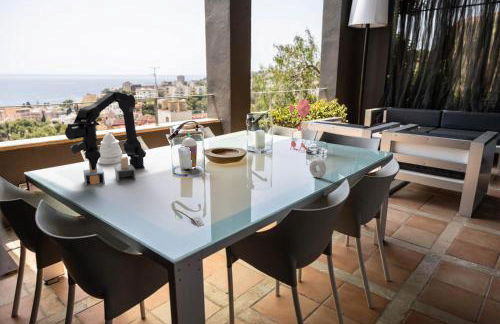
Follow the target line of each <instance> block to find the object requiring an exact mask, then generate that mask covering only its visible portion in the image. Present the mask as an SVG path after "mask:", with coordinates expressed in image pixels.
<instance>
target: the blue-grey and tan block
mask: <svg viewBox="0 0 500 324" xmlns="http://www.w3.org/2000/svg"><path fill="white" fill-rule="evenodd" d="M97 165H98V164H97ZM97 165H96V168H95V170H92V168H91V165H90V161H89V160H88V167H89V169H83V170H82V171H83V179H84V184H85V185H84V186H85V187H88V183H87V182H90V179H89V175H96V174H99V181H100V180H101V181H102V183H103V184H106V181H105V172H104V169H103V168H102V167H100V168H99V167H98V166H97Z"/></svg>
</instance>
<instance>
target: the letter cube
mask: <svg viewBox="0 0 500 324" xmlns="http://www.w3.org/2000/svg"><path fill="white" fill-rule="evenodd" d="M89 179H90V181H89V183H90V184H89V185H96V184H100V180H99V174H96V175H89Z"/></svg>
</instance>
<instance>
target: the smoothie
mask: <svg viewBox="0 0 500 324" xmlns="http://www.w3.org/2000/svg"><path fill="white" fill-rule="evenodd" d="M187 135H188V137H186V138H184V139H183V140H182V143H181V147H182V146H185V147H189V148H190V151H191V160H192V167H195V168H196V167H197V156H198V155H197V154H198V153H197V152H198V143H197V141H196V140H195V139H194V138H193V137H191V135H190V132H188V133H187Z"/></svg>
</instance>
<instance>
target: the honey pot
mask: <svg viewBox="0 0 500 324" xmlns="http://www.w3.org/2000/svg"><path fill="white" fill-rule="evenodd" d="M113 133H114V130H108V131H107V133H105V135H104V137H103V138H102V140H101V141H100V147H99V149H98V151H99V152H100V155H101V157H100V158H99V159H98V163H99V164H101V165H113V164H119V163H121V160H120V157H123V151H122V149H121V147H120V144H119V143H120V140H118V139H116V137H115V136H114V135H113Z"/></svg>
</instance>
